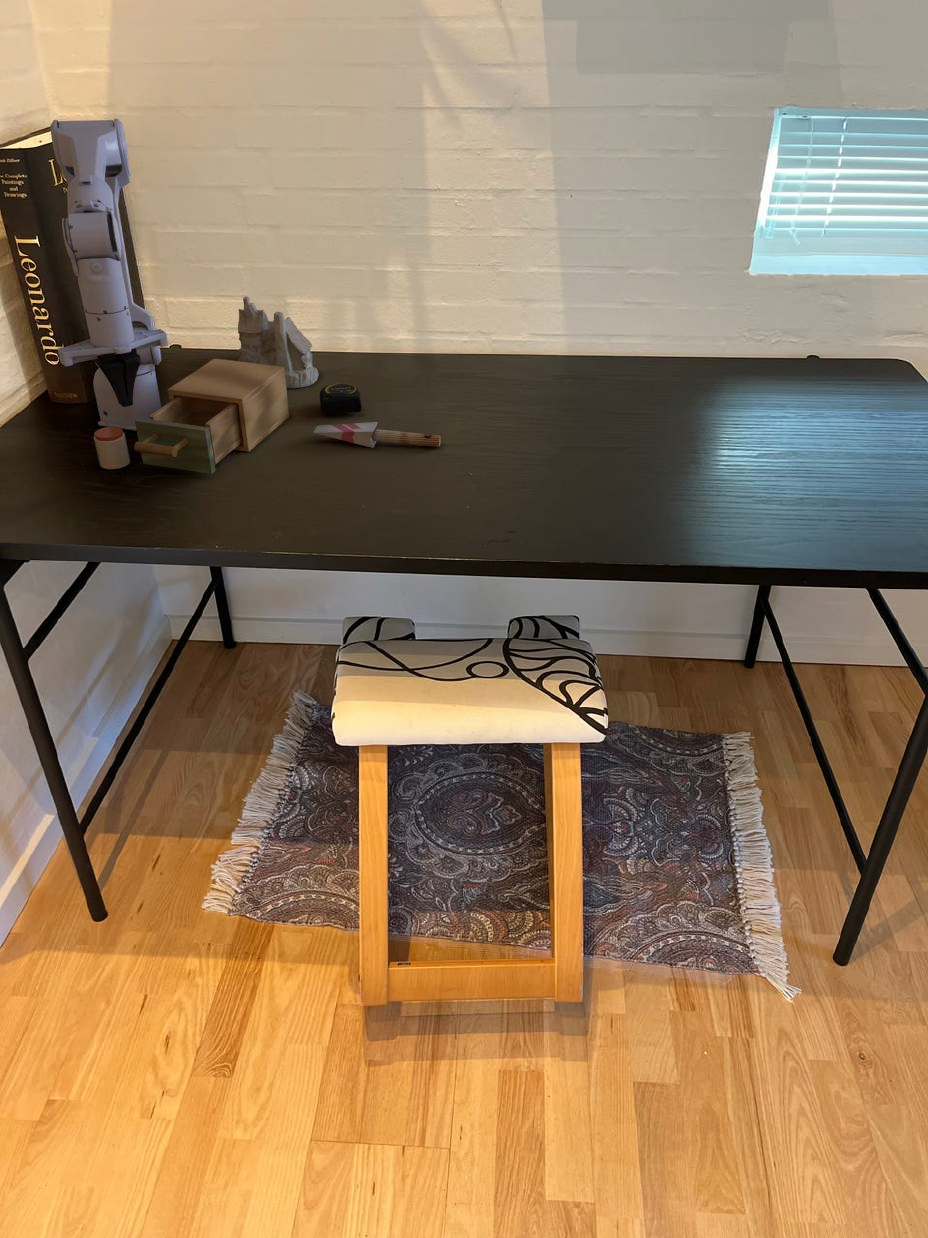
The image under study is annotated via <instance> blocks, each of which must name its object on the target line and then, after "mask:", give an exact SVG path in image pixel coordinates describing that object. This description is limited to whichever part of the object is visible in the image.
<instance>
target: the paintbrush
mask: <svg viewBox="0 0 928 1238" xmlns="http://www.w3.org/2000/svg"><path fill="white" fill-rule="evenodd" d="M378 423H379V422H378V421H375V422H374V421H371V422H356V423H355V422H354V423H340V424H324V425H323V424H322V425H321V424H320V425H316V426H315V428H314V430H313V432H312V433H313V434H317V435H319V436H323V437H328V438H332V439H337V440H340V441H344V442H347V443H352V444H356V445H359V446H364V447H368V448H371V449H374V448H375V445H376V443H377V442H381V443H382V442H383V443H393V444H401V445H403V444H404V445H411V446H413V445H414V446H423V447H424V446H429V447H432V448H440V447H441V439H442V438H441V435H439V434H438V435H437V434H430V435H429V434H426V433H416V432H405V431H397V430H387V429H386V430H385V429H377V426H378Z"/></svg>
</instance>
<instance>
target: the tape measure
mask: <svg viewBox="0 0 928 1238" xmlns="http://www.w3.org/2000/svg"><path fill="white" fill-rule="evenodd" d="M319 406H320V411H322V413H324V414H331V415H332V414H333V415H334V414H337V415H344V414H349V413H350V414H351V413H361V412H362V409H363V407H362V399H361V393H360V391H359V388H358V387H357V386H355V385H353V384H351V383H345V382H343V383H341V382H339V383H331V384H328V385H325V386H323V387H322V388H321V390H320V391H319Z"/></svg>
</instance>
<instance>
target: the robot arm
mask: <svg viewBox="0 0 928 1238" xmlns="http://www.w3.org/2000/svg"><path fill="white" fill-rule="evenodd" d="M49 128H50V137H51V143H52V148H53V153H54V156H55V159H56V162H57V164H58V166H59V169H60V172H61V175H62V177H63V178H64V179H65V181H66V184H67V185H68V186H67V189H66V192H67V193H66V195H67V196H66V198H67V199H66V200H67V218H64V217H63V218H62V222H61V228H62V235H63V241H64V245H65V249H66V251H67V254H68V256H69V257H68V258H69V260H70V262H71V265H72V271H73V273H74V276H75V277H76V278H77V284H78V288H79V292H80V296H81V302H82V306H83V311H84V316H85V320H86V324H87V329H88V334H89V339H86V340H82V341H80V342H77V343H74V344H71V345H68V346H63V347H59V348H57V353H58V357H59V362H60V364H62V366H64V367H71V366H73V365H74V364H78V363H81V362H87V361H91V360H93V361H94V363H95V365H96V366H97V367H98V368H97V369H96V371H95V373H94V376H93V383H92V384H93V392H94V396H95V399H96V400H95V401H96V405H97V410H98V414H99V415H98V416H99V419H100V420H99V421H98V422H97V424H98V426H99V427H118V428H121V429H122V430H126V431H127V430H128V431H135V432H137V430H136V425H135V420H137V419H138V418H144V419H149V416H150V415H151V414H153V413H154V412H156V411H157V410H159V409H160V408H162V403H161V398H160V397H161V396H160V392H159V385H158V380H157V375H156V369H155V368H156V367H155V366H159V365H160V363H161V362H162V354H161V353H162V352H161V348H165V347H168V346H169V342H168V336H167V335H168V334H167V332H166V331H164V330H163V329H161V328H157V327H156V322H155V318H154V317H153V315H152V313H151V312H149V311H148V310H146V309H144V308H143V307H142V306H140V305H138V304H137V303H135V302H134V296H133V290H132V285H131V277H130V272H129V265H128V260H127V254H126V247H125V241H124V233H123V227H122V221H121V214H120V209H119V201H120V192H121V189H122V188H124V187H126V186H127V185H130V183H131V180H130V177H131V167H130V160H129V158H130V157H129V151H128V145H127V144H128V143H127V137H126V133H125V128H124V124H123V123H122V121H120V120H119V118H113V119H97V120H93V119H92V120H90V119H89V120H88V119H87V120H58V119H53V120H52V122H51V124H50V126H49ZM133 324H141V325H133Z"/></svg>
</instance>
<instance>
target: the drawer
mask: <svg viewBox="0 0 928 1238" xmlns="http://www.w3.org/2000/svg"><path fill="white" fill-rule="evenodd" d="M238 404H239V403H232V402H224V401H216V400H209V399H201V398H194V397H186V396H178V397H176V398H175V399H173V400H172V401H170V400H169V402H167V403H166V404H165V405H163V406H161V408H160V409H159V410H157V411H156V412H154V413H153V414H151V415H150V416H149V419H144V418H138V419H137V420H135V425H136V430H137V431H136V435H137V440H138V441H136V442H135V443H134V446H133V447H134V451H135V452H138V453H140V455H141V460H142V464H143V465H149V466H157V467H162V468H170V469H177V470H183V471H190V472H195V473H203V474H208V475H209V474H210V475H213V474H214V473H215V472H216V465H217V464H218V463H219V462H220V461H221V460H223V459H224V458H225V457H227V456H228V454H230V453H231V452H232V451H234V450H233V449H235V448H236V447H237V446H238V445H239V444H240V443H242V442H243V436H242V429H241V421H240V413H239V405H238Z"/></svg>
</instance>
